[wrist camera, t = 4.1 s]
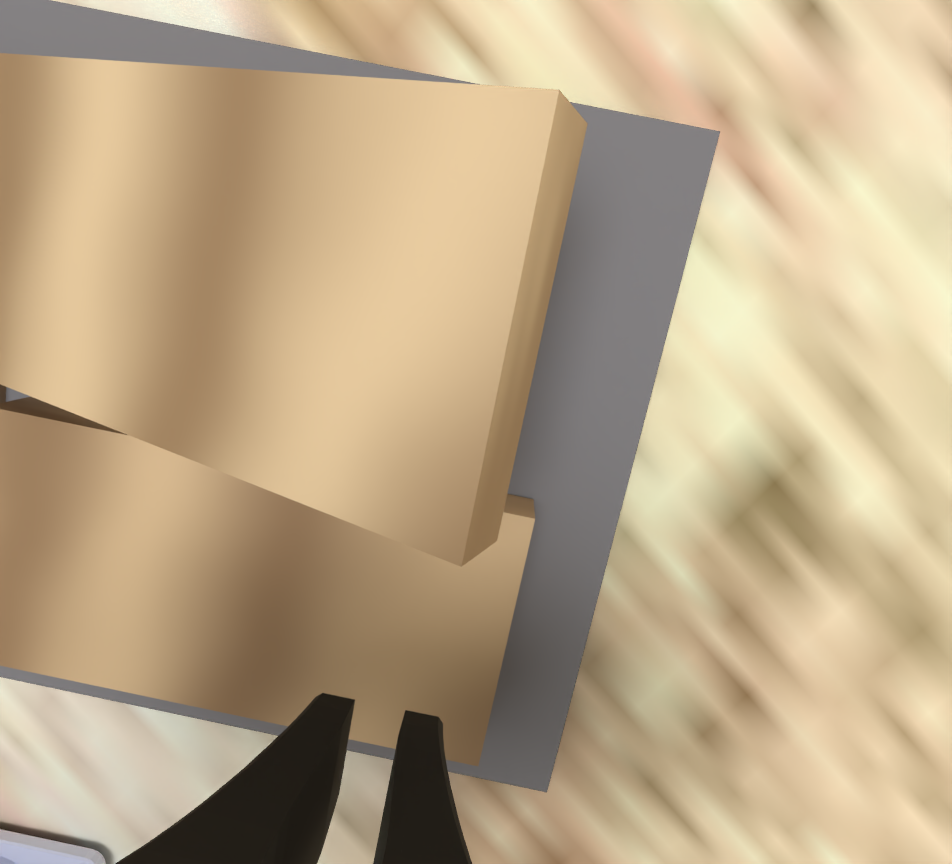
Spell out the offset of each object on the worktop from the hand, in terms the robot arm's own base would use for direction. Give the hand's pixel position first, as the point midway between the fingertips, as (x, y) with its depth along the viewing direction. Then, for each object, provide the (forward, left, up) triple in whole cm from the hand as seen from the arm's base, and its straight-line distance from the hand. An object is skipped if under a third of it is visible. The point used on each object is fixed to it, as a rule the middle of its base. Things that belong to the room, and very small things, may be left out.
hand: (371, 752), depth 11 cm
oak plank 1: (+8, +5, -3) cm, 9 cm away
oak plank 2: (0, +4, -5) cm, 7 cm away
